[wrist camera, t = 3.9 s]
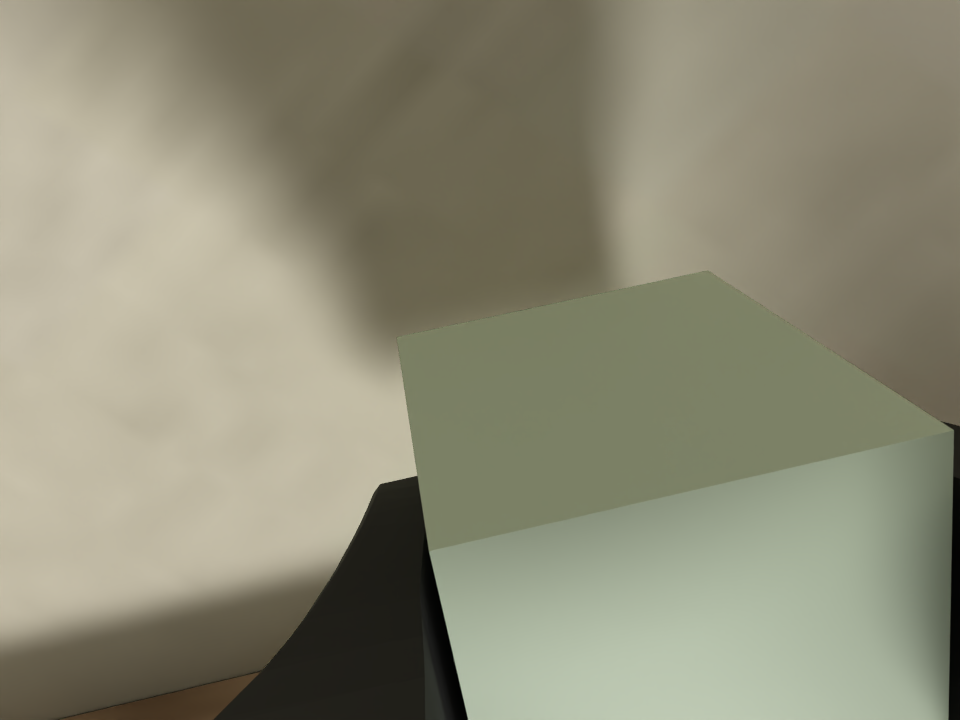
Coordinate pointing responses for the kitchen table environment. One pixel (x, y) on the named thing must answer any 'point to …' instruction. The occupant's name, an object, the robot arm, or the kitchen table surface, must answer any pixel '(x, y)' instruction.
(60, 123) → the kitchen table surface
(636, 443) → the sage block
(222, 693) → the walnut base
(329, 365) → the kitchen table surface
